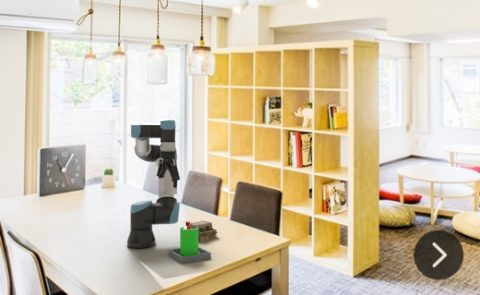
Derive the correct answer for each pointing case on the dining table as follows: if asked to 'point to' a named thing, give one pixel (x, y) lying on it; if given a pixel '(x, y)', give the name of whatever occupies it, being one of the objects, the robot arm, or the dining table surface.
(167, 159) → the robot arm
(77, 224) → the dining table surface
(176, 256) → the tray
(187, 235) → the green-shelled ribbed roller
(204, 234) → the miniature house
